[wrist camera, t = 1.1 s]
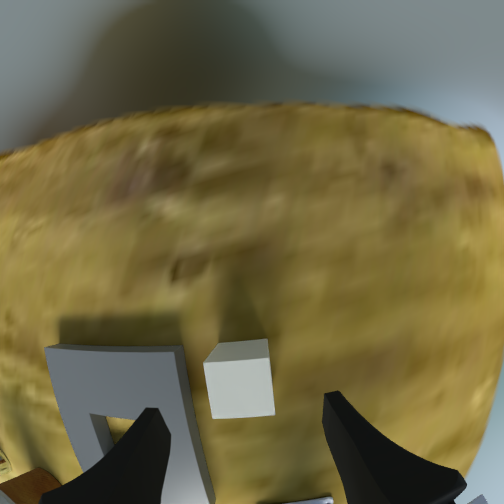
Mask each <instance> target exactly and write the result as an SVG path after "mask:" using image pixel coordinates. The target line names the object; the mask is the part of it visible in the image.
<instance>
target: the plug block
mask: <svg viewBox="0 0 504 504" xmlns="http://www.w3.org/2000/svg"><path fill="white" fill-rule="evenodd" d="M203 365H204V371H205V377H206V384H207V390H208V396H209V401H210V407H211V412H212V418H213V419H224V418H244V417H258V416H269V415H275V407H274V396H273V385H272V375H271V366H270V357H269V348H268V339H258V340H248V341H237V342H225V343H218V344H217V345H216V347H215V348H214V349H213V351H212V352H211V353H210V355H209V356H208V357H207V359H206V360H205V361H204V362H203Z"/></svg>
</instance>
